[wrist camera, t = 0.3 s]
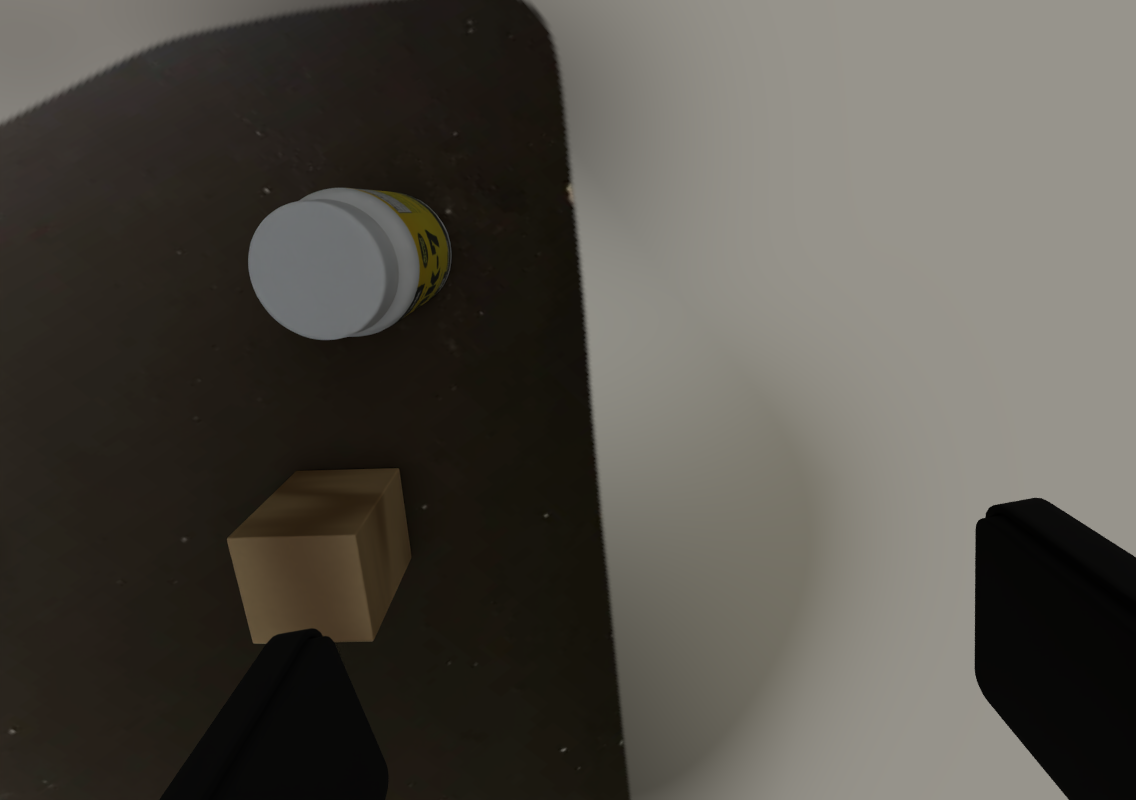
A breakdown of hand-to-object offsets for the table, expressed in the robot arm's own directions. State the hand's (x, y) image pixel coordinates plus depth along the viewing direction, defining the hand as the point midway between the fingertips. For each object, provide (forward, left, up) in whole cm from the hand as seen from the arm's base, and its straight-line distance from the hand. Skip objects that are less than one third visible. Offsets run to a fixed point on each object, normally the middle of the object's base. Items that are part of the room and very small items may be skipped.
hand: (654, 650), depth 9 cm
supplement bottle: (-9, -3, -19) cm, 21 cm away
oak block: (-2, -14, -19) cm, 24 cm away
